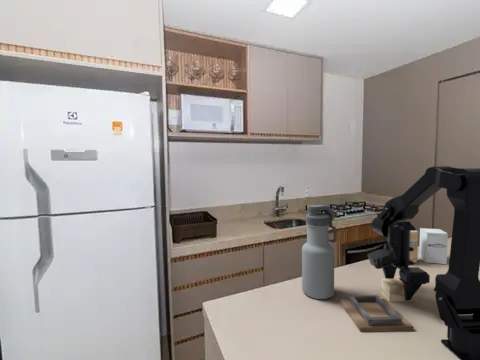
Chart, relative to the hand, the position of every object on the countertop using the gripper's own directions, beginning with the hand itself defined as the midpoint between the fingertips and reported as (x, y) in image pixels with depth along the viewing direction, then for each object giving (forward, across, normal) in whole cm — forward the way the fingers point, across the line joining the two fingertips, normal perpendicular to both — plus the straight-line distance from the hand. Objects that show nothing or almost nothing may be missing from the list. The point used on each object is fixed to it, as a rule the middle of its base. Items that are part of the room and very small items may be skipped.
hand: (398, 292), depth 79 cm
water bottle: (+2, -4, -23) cm, 23 cm away
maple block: (+2, 0, 0) cm, 2 cm away
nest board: (+2, +9, -12) cm, 15 cm away
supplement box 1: (+2, -27, +19) cm, 33 cm away
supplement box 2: (+2, -28, +31) cm, 42 cm away
